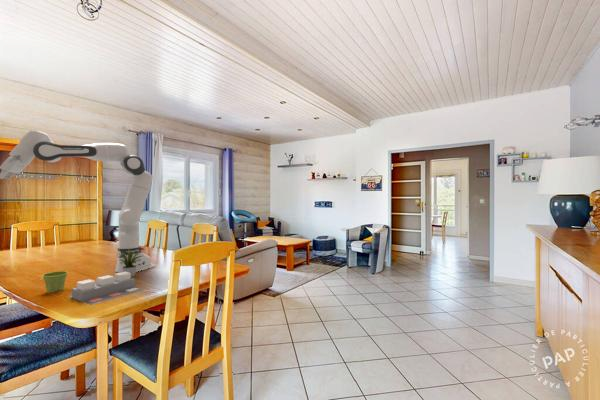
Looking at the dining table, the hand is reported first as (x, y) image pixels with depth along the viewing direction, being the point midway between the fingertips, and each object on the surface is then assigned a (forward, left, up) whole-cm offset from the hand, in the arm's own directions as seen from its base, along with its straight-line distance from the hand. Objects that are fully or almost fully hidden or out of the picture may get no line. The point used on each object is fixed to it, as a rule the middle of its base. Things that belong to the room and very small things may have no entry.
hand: (3, 178), depth 145 cm
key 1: (-10, +61, -51) cm, 80 cm away
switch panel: (-18, +63, -54) cm, 85 cm away
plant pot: (-8, +37, -55) cm, 66 cm away
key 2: (-26, +61, -51) cm, 84 cm away
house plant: (-39, +44, -55) cm, 80 cm away
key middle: (-18, +61, -51) cm, 81 cm away
